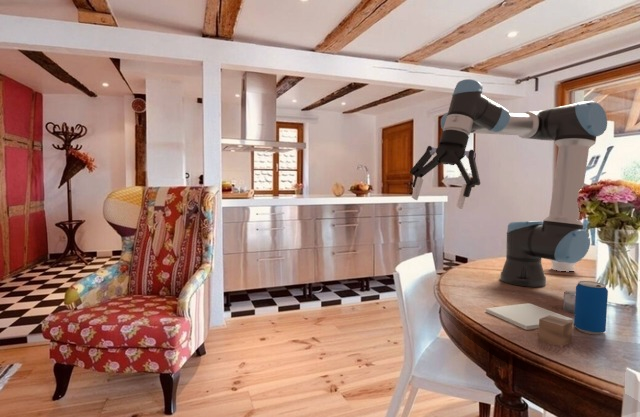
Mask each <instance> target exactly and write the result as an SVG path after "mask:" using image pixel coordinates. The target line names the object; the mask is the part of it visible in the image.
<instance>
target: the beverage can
mask: <svg viewBox="0 0 640 417" xmlns="http://www.w3.org/2000/svg"><path fill="white" fill-rule="evenodd" d="M575 292H576V296H575V314H573V315H574V317H573V326H574V327H575V328H577V330H578V331H580V332H582V333H584V334H588V335H601V334H602V333H605V332H606V329H607V316H608V315H607V312H608V297H609V296H608V295H609V291H608V288H607V285H606V284H604V283H602V282H598V281H592V280H580V281H579V280H578V283H577V284H576V286H575Z"/></svg>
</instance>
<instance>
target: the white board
mask: <svg viewBox="0 0 640 417" xmlns="http://www.w3.org/2000/svg"><path fill="white" fill-rule="evenodd" d="M485 312H486V313H488V314H490V315H492V316H493V317H494V316H495V317H497V318H499V319H502V320H504V321H506V322H507V323H510V324H512V325H515V326H517V327H519V328H521V329H524V330H526V331H528V330H534V329H539V319H541V318H544V317H546V316H549V315H551V316H554V317H558V318H562V319H565V320H569V321H572V322H573V323H574V318H571V317H568V316H565V315H562V314H560V313H557V312H554V311H552V310H549V309H546V308H544V307H540V306H538V305H536V304H532V303H530V302H528V303H521V304H520V303H518V304H509V305H503V306H495V307H486V308H485Z"/></svg>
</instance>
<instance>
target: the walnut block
mask: <svg viewBox="0 0 640 417" xmlns="http://www.w3.org/2000/svg"><path fill="white" fill-rule="evenodd" d="M573 324H574V321H573V322H572V321H569V320H565V319H562V318H558V317H554V316H551V315H549V316H546V317H544V318H541V319H539V328H538V336H537V337H538V339H537V340H539V341H542V342H545V343H548V344H550V343H551V345H553V344H554V346H556V345H557V346H556V347H559V348H562V346H563V347H564V346H567V345H569V344H570V343H572V340H573V339H572V338H573Z"/></svg>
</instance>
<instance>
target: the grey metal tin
mask: <svg viewBox="0 0 640 417" xmlns="http://www.w3.org/2000/svg"><path fill="white" fill-rule="evenodd" d="M575 296H576V291H572V290H571V291H570V290H567V291H564V292H563V306H562V307H563V308H562V310H563V311H565V312H567V313H571V314H573V315H575Z"/></svg>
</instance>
